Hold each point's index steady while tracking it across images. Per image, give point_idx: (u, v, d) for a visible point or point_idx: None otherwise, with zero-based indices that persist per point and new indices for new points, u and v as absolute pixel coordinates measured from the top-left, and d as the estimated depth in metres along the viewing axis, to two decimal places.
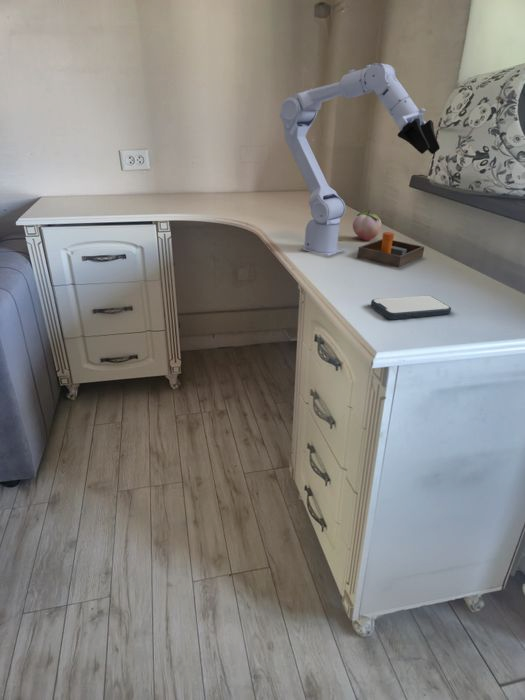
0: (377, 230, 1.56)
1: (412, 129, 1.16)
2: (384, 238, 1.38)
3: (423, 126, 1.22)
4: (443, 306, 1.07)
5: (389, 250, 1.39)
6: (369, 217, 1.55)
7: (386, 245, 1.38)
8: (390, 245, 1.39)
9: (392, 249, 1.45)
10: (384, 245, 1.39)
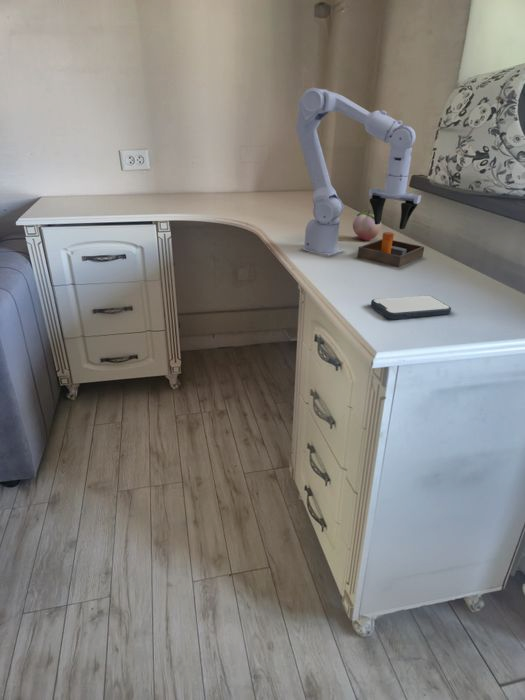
0: (377, 230, 1.56)
1: None
2: (384, 238, 1.38)
3: (382, 198, 1.37)
4: (443, 306, 1.07)
5: (389, 250, 1.39)
6: (369, 217, 1.55)
7: (386, 245, 1.38)
8: (390, 245, 1.39)
9: (392, 249, 1.45)
10: (384, 245, 1.39)
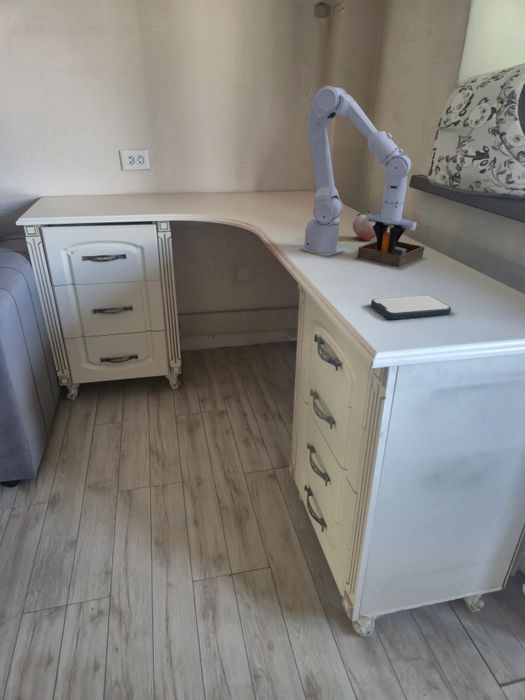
0: None
1: None
2: (384, 238, 1.38)
3: (385, 225, 1.39)
4: (443, 306, 1.07)
5: None
6: None
7: (386, 245, 1.38)
8: None
9: None
10: (384, 245, 1.39)
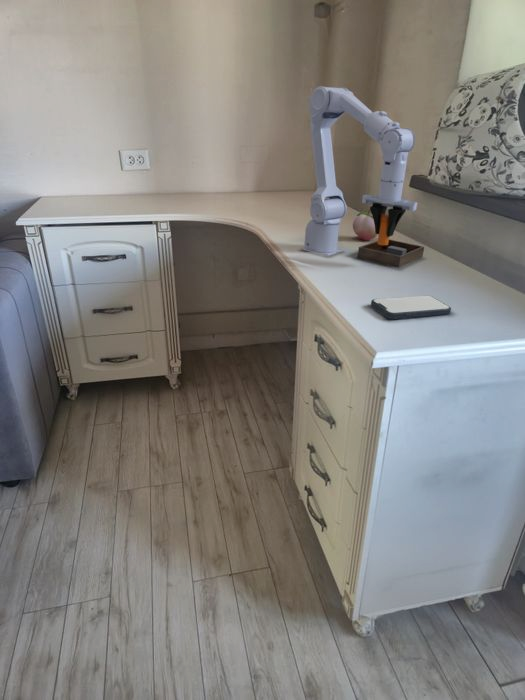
0: None
1: None
2: (382, 220, 1.27)
3: (384, 206, 1.28)
4: (443, 306, 1.07)
5: None
6: (369, 217, 1.55)
7: (384, 228, 1.28)
8: None
9: (392, 249, 1.45)
10: (382, 228, 1.28)
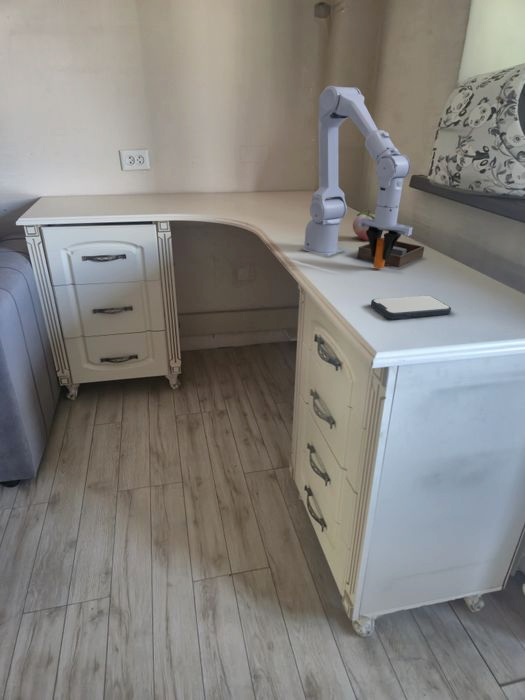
0: None
1: None
2: (378, 244, 1.29)
3: (379, 230, 1.30)
4: (443, 306, 1.07)
5: None
6: (369, 217, 1.55)
7: (380, 251, 1.29)
8: None
9: (392, 249, 1.45)
10: (378, 251, 1.30)
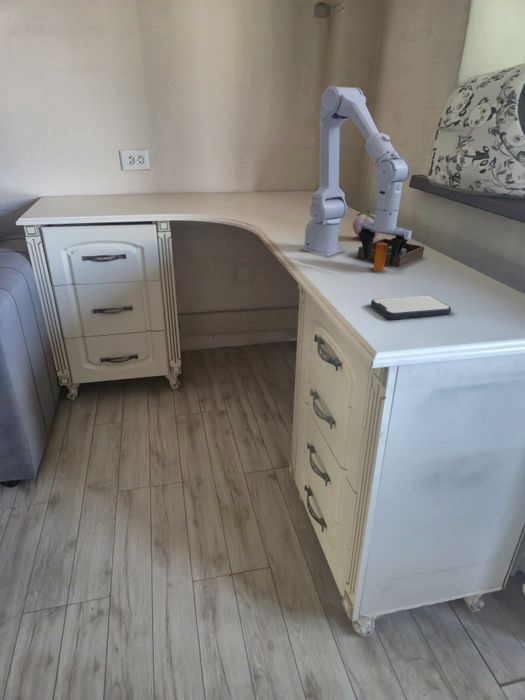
0: None
1: None
2: (377, 249, 1.29)
3: (372, 232, 1.31)
4: (443, 306, 1.07)
5: (383, 262, 1.31)
6: (369, 217, 1.55)
7: (380, 256, 1.30)
8: (384, 256, 1.30)
9: None
10: (377, 256, 1.30)
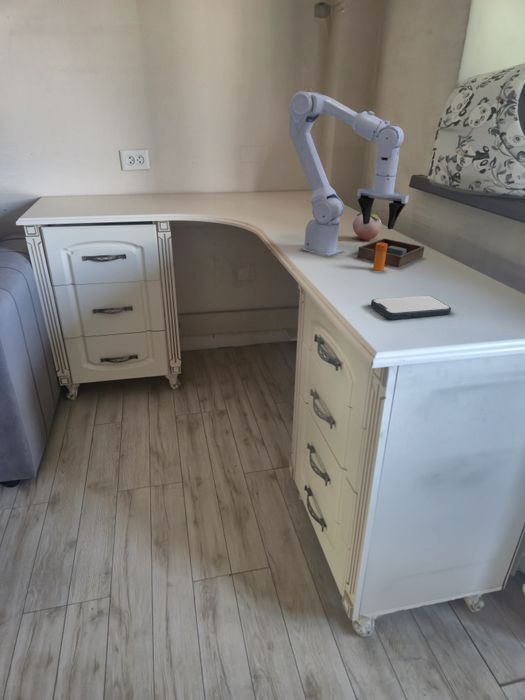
0: (377, 230, 1.56)
1: None
2: (377, 249, 1.29)
3: (371, 198, 1.37)
4: (443, 306, 1.07)
5: (383, 262, 1.31)
6: None
7: (380, 256, 1.30)
8: (384, 256, 1.30)
9: (392, 249, 1.45)
10: (377, 256, 1.30)
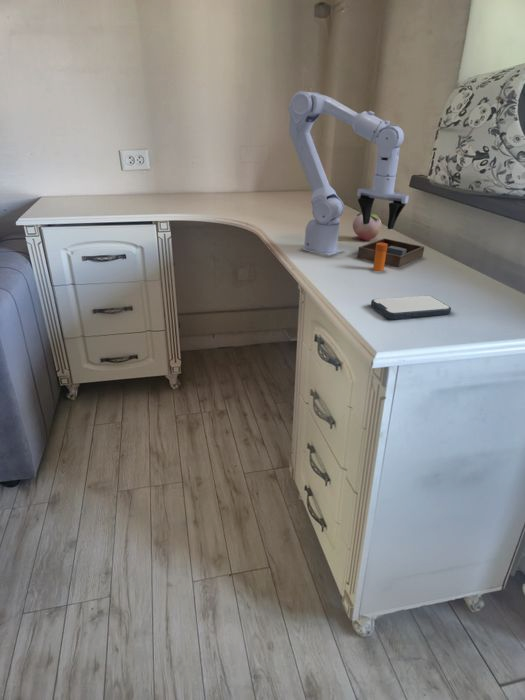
0: (377, 230, 1.56)
1: None
2: (377, 249, 1.29)
3: (371, 198, 1.37)
4: (443, 306, 1.07)
5: (383, 262, 1.31)
6: None
7: (380, 256, 1.30)
8: (384, 256, 1.30)
9: (392, 249, 1.45)
10: (377, 256, 1.30)
